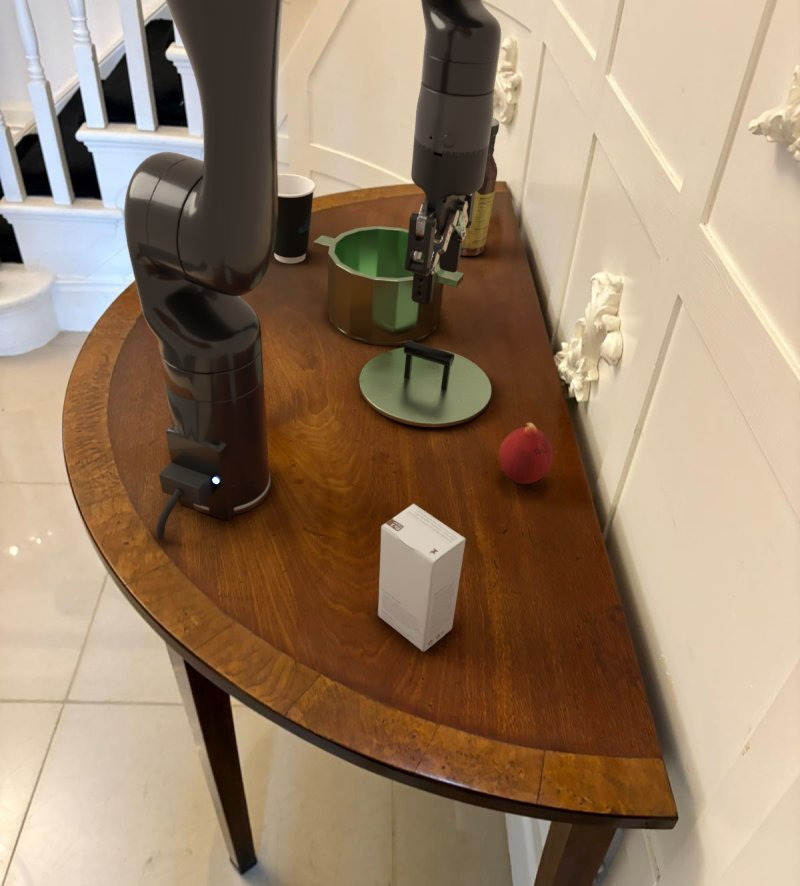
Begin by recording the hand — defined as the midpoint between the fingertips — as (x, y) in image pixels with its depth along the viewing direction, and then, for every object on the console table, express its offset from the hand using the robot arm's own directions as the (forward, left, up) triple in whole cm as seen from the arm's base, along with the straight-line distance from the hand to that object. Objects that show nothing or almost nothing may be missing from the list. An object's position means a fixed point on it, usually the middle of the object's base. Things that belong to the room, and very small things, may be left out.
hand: (435, 285), depth 89 cm
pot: (+14, +12, -14) cm, 23 cm away
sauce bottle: (+40, +9, -14) cm, 43 cm away
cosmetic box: (-35, -13, -14) cm, 40 cm away
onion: (-11, -16, -14) cm, 24 cm away
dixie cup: (+23, +32, -14) cm, 41 cm away
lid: (0, 0, -14) cm, 14 cm away
